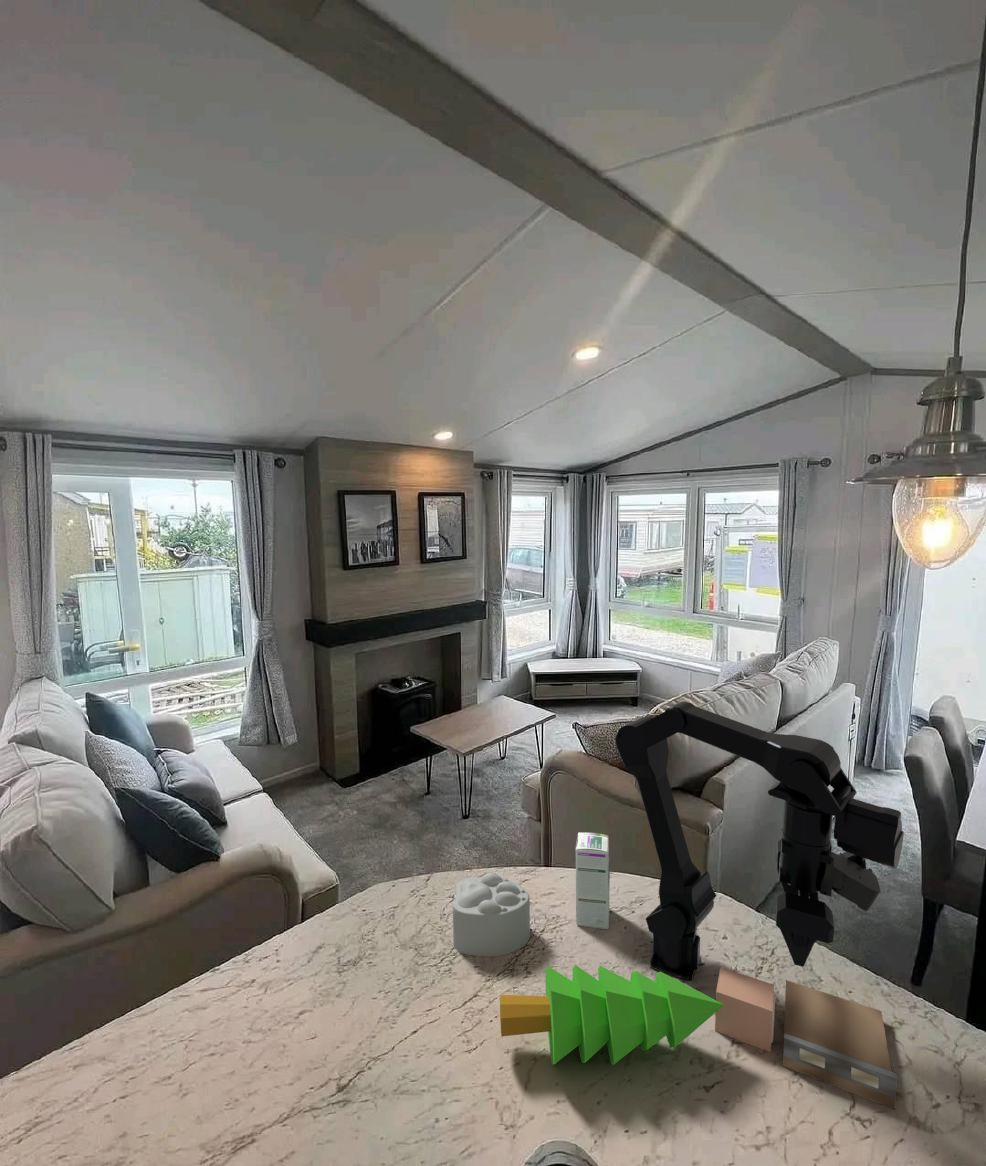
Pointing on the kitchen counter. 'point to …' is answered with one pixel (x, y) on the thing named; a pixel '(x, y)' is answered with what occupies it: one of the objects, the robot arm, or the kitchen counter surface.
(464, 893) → the lumpy-topped squat cylinder
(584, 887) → the syrup box
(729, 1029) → the product carton
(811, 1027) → the tan banded flat block
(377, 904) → the kitchen counter surface
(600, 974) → the decorative tree
